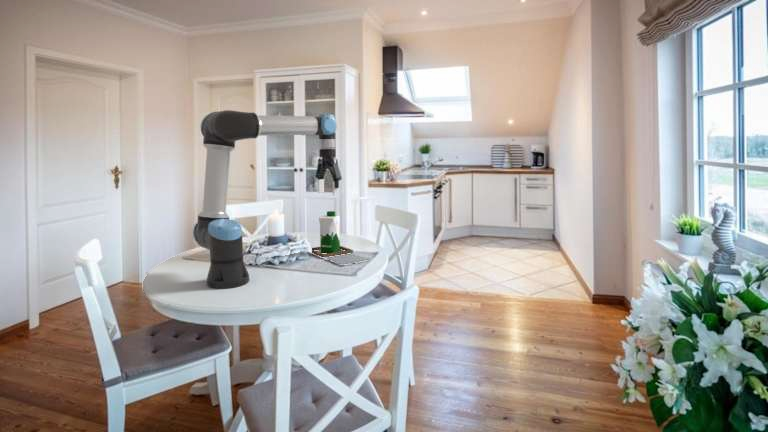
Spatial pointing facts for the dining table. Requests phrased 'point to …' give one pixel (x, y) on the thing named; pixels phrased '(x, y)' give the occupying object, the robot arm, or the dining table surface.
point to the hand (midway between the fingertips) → (328, 194)
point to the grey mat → (347, 258)
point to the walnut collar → (332, 253)
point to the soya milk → (329, 233)
